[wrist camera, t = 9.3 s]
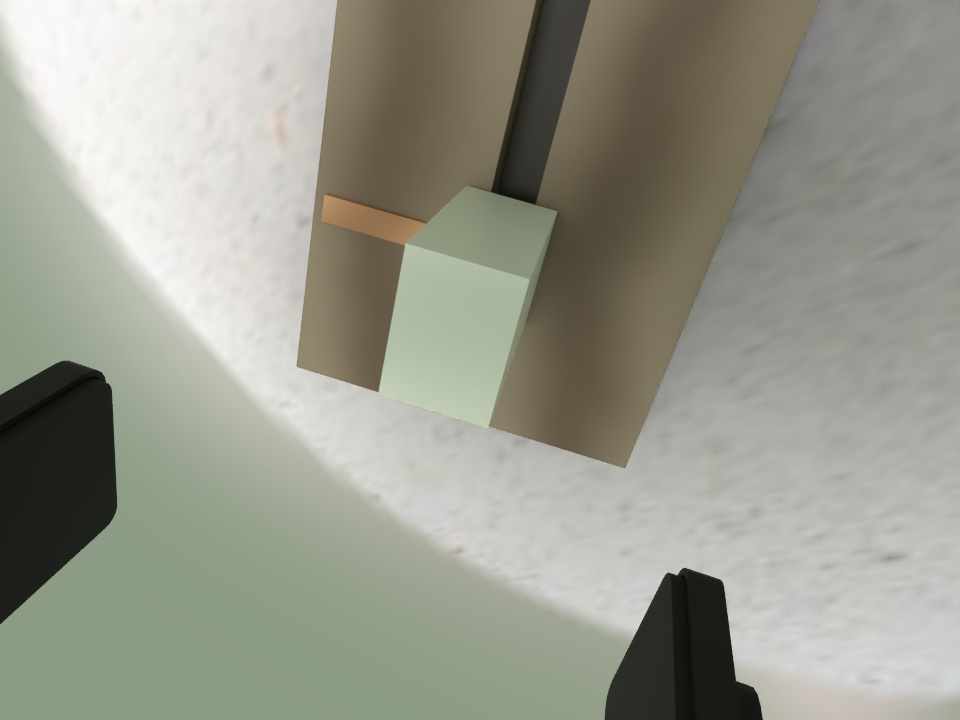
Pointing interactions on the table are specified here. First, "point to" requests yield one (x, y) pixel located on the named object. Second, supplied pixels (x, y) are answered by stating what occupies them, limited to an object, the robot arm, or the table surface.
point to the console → (544, 180)
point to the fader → (464, 304)
